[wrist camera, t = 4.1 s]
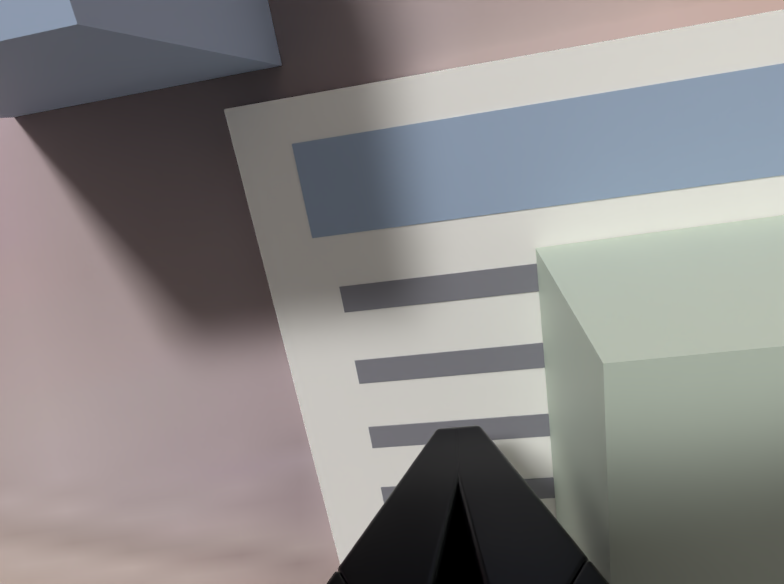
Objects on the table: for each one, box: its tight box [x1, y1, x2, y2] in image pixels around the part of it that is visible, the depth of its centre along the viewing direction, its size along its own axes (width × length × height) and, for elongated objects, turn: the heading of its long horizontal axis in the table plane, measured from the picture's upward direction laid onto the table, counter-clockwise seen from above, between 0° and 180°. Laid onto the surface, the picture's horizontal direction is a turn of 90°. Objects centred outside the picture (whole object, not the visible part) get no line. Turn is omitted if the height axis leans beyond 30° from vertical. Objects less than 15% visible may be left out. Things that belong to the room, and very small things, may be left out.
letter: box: [224, 9, 784, 565], centre depth 10 cm, size 12×11×1 cm
